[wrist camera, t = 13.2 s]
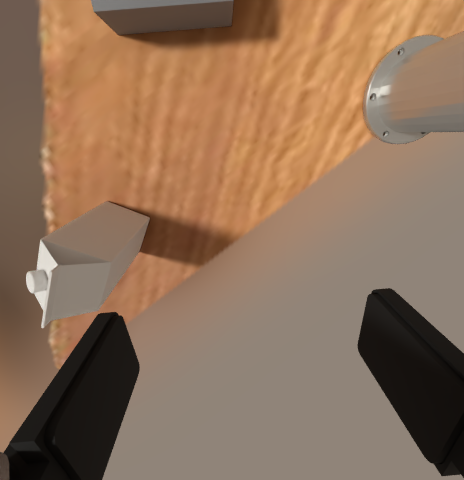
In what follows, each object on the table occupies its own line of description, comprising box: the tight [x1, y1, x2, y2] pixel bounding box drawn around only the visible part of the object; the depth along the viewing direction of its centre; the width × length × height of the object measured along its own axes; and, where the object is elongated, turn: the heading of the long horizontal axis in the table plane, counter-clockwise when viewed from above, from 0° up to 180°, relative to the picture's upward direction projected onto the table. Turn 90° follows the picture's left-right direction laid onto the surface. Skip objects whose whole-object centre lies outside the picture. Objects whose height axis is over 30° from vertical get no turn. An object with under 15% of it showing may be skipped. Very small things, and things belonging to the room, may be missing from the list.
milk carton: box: [26, 201, 150, 328], centre depth 30 cm, size 7×7×19 cm
